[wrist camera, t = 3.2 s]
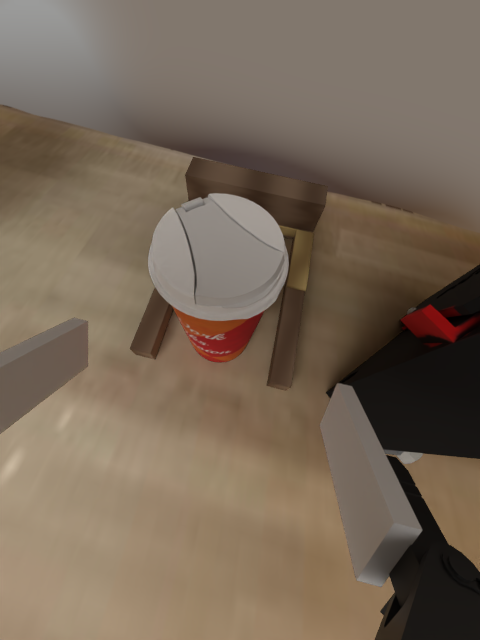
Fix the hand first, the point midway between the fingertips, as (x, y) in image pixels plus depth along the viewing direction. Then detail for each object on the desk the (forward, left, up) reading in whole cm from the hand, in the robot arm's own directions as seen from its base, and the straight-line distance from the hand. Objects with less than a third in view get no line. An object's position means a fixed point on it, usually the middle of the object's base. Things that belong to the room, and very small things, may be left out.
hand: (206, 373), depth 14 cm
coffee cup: (-1, +7, -13) cm, 14 cm away
